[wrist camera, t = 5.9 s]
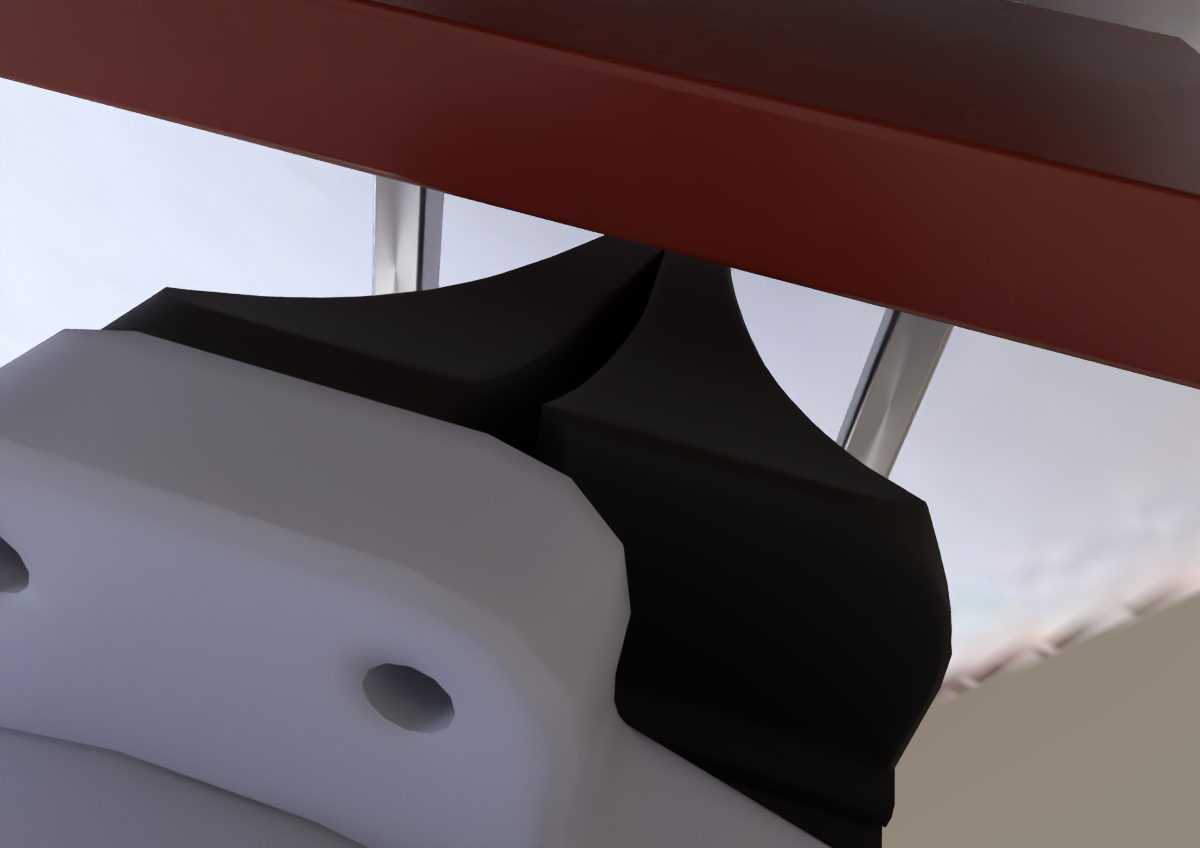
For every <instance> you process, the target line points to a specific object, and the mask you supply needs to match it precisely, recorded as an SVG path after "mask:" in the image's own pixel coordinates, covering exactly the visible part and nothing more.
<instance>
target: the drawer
mask: <svg viewBox="0 0 1200 848" xmlns="http://www.w3.org/2000/svg"><path fill="white" fill-rule="evenodd" d="M0 77H1V78H5V79H9V80H13V81H17V82H20V83H24V84H28V85H32V86H36V87H40V88H43V89H47V90H51V91H55V92H59V93H63V94H67V95H70V96H74V97H78V98H82V99H86V100H90V101H93V102H97V103H101V104H105V105H109V106H113V107H116V108H120V109H124V110H128V111H132V112H136V113H140V114H143V115H147V116H151V117H155V118H159V119H163V120H166V121H170V122H174V123H178V124H182V125H186V126H189V127H193V128H197V129H201V130H205V131H209V132H212V133H216V134H220V135H224V136H228V137H232V138H236V139H239V140H243V141H247V142H251V143H255V144H259V145H262V146H266V147H270V148H274V149H278V150H282V151H285V152H289V153H293V154H297V155H301V156H305V157H309V158H312V159H316V160H320V161H324V162H328V163H332V164H335V165H339V166H343V167H347V168H351V169H355V170H358V171H362V172H366V173H370V174H374V223H373V295H382V294H392V293H402V292H412V291H421V290H429V289H435V288H438V287H439V270H440V253H441V237H442V220H443V203H444V193H447V194H451V195H455V196H458V197H462V198H466V199H470V200H474V201H478V202H481V203H485V204H489V205H493V206H497V207H501V208H504V209H508V210H512V211H516V212H520V213H524V214H527V215H531V216H535V217H539V218H543V219H547V220H551V221H554V222H558V223H562V224H566V225H570V226H574V227H577V228H581V229H585V230H589V231H593V232H597V233H600V234H604V235H608V236H612V237H616V238H620V239H624V240H627V241H631V242H635V243H639V244H643V245H647V246H650V247H654V248H658V249H662V250H666V251H670V252H673V253H677V254H681V255H685V256H689V257H693V258H697V259H700V260H704V261H708V262H712V263H716V264H720V265H723V266H727V267H731V268H735V269H739V270H743V271H746V272H750V273H754V274H758V275H762V276H766V277H769V278H773V279H777V280H781V281H785V282H789V283H793V284H796V285H800V286H804V287H808V288H812V289H816V290H819V291H823V292H827V293H831V294H835V295H839V296H842V297H846V298H850V299H854V300H858V301H862V302H866V303H869V304H873V305H877V306H881V307H885V308H886V311H885V313H884V316H883V319H882V321H881V324H880V327H879V329H878V332H877V334H876V337H875V340H874V342H873V345H872V347H871V350H870V353H869V355H868V358H867V361H866V363H865V366H864V368H863V371H862V374H861V376H860V379H859V382H858V384H857V387H856V389H855V392H854V395H853V397H852V400H851V403H850V405H849V408H848V410H847V413H846V416H845V418H844V421H843V424H842V426H841V429H840V431H839V434H838V437H837V439H836V443H837V444H838V445H840V446H841V447H842V448H843V449H845V450H846V451H847V452H848V453H850V454H851V455H852V456H854V457H855V458H856V459H857V460H859V461H860V462H862V463H863V464H864V465H866V466H867V467H869V468H870V469H872V470H874V471H875V472H877V473H879V474H880V475H882V476H884V477H885V478H887V479H888V477H889V475H890V472H891V470H892V468H893V466H894V463H895V461H896V459H897V456H898V454H899V452H900V449H901V447H902V445H903V443H904V440H905V438H906V436H907V433H908V431H909V429H910V426H911V424H912V422H913V420H914V417H915V415H916V413H917V410H918V408H919V406H920V404H921V401H922V399H923V397H924V394H925V392H926V390H927V387H928V385H929V383H930V381H931V378H932V376H933V374H934V371H935V369H936V367H937V364H938V362H939V360H940V358H941V355H942V353H943V351H944V348H945V346H946V344H947V341H948V339H949V337H950V335H951V332H952V330H953V328H954V326H958V327H962V328H965V329H969V330H973V331H977V332H981V333H985V334H988V335H992V336H996V337H1000V338H1004V339H1008V340H1011V341H1015V342H1019V343H1023V344H1027V345H1031V346H1035V347H1038V348H1042V349H1046V350H1050V351H1054V352H1058V353H1061V354H1065V355H1069V356H1073V357H1077V358H1081V359H1084V360H1088V361H1092V362H1096V363H1100V364H1104V365H1108V366H1111V367H1115V368H1119V369H1123V370H1127V371H1131V372H1134V373H1138V374H1142V375H1146V376H1150V377H1154V378H1157V379H1161V380H1165V381H1169V382H1173V383H1177V384H1181V385H1184V386H1188V387H1192V388H1196V389H1200V53H1198V52H1197V51H1196V50H1195V49H1193V48H1192V47H1191V46H1190V45H1188V44H1187V43H1186V42H1184V41H1183V40H1182V39H1181V38H1179V37H1174V36H1169V35H1165V34H1160V33H1155V32H1151V31H1146V30H1141V29H1137V28H1132V27H1127V26H1123V25H1118V24H1113V23H1109V22H1104V21H1099V20H1095V19H1090V18H1085V17H1081V16H1076V15H1071V14H1067V13H1062V12H1058V11H1053V10H1048V9H1044V8H1039V7H1034V6H1030V5H1025V4H1020V3H1016V2H1011V1H1006V0H0Z"/></svg>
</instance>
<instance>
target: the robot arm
mask: <svg viewBox="0 0 1200 848" xmlns="http://www.w3.org/2000/svg"><path fill="white" fill-rule="evenodd" d="M951 635H952V625H951V607H950V600H949V592H948V585H947V580H946V575H945V571H944V567H943V563H942V559H941V555H940V550H939V546H938V543H937V539H936V535H935V531H934V528H933V524H932V520H931V516H930V513H929V509H928V506H927V504H926V502H925V501H923V500H921V499H920V498H918V497H917V496H915V495H913V494H912V493H910V492H908V491H907V490H905V489H903V488H902V487H900V486H898V485H897V484H895V483H893V482H892V481H890V480H889V479H887V478H885V477H884V476H882V475H880V474H879V473H877V472H875V471H874V470H872V469H870V468H869V467H867V466H866V465H864V464H863V463H862V462H860V461H859V460H857V459H856V458H855V457H854V456H852V455H851V454H850V453H848V452H847V451H846V450H845V449H843V448H842V447H841V446H840V445H838V444H837V443H836V442H834V441H833V440H832V439H831V438H830V437H828V436H827V435H826V434H825V433H824V432H823V431H822V430H821V429H819V428H818V427H817V426H816V425H815V424H814V423H813V422H812V421H811V420H810V419H809V418H808V417H807V416H806V415H805V414H804V413H803V412H802V411H801V410H800V409H799V408H798V406H797V405H796V404H795V403H794V402H793V401H792V400H791V399H790V398H789V397H788V396H787V394H786V393H785V392H784V391H783V390H782V388H781V387H780V386H779V385H778V383H777V382H776V380H775V379H774V377H773V376H772V375H771V373H770V372H769V370H768V369H767V367H766V366H765V364H764V363H763V361H762V359H761V357H760V355H759V353H758V351H757V349H756V347H755V345H754V343H753V341H752V339H751V337H750V335H749V332H748V330H747V328H746V325H745V323H744V320H743V317H742V314H741V311H740V308H739V305H738V302H737V299H736V296H735V292H734V287H733V283H732V277H731V267H727V266H723V265H720V264H716V263H712V262H708V261H704V260H700V259H697V258H693V257H689V256H685V255H681V254H677V253H673V252H670V251H666V250H662V249H658V248H654V247H650V246H647V245H643V244H639V243H635V242H631V241H627V240H624V239H620V238H616V237H612V236H608V235H604V236H601V237H599V238H596V239H594V240H592V241H589V242H587V243H585V244H582V245H580V246H577V247H575V248H572V249H570V250H567V251H565V252H562V253H560V254H558V255H555V256H552V257H550V258H547V259H544V260H541V261H538V262H535V263H532V264H529V265H526V266H523V267H520V268H517V269H514V270H511V271H508V272H505V273H502V274H499V275H495V276H491V277H488V278H484V279H479V280H475V281H471V282H466V283H461V284H456V285H451V286H446V287H441V288H435V289H429V290H421V291H412V292H402V293H392V294H382V295H372V296H360V297H329V298H308V297H269V296H253V295H242V294H230V293H219V292H208V291H196V290H186V289H178V288H170V287H166V288H164V289H162V290H161V291H159V292H158V293H156V294H155V295H153V296H152V297H150V298H149V299H147V300H146V301H144V302H143V303H141V304H140V305H138V306H137V307H135V308H133V309H132V310H130V311H129V312H127V313H126V314H124V315H123V316H121V317H120V318H118V319H116V320H115V321H113V322H112V323H110V324H109V325H107V326H106V327H104V328H103V329H101V330H86V329H63V330H62V331H60V332H58V333H57V334H55V335H53V336H52V337H50V338H49V339H47V340H45V341H44V342H42V343H40V344H39V345H37V346H36V347H34V348H32V349H31V350H29V351H27V352H26V353H24V354H23V355H21V356H19V357H18V358H16V359H14V360H13V361H11V362H10V363H8V364H6V365H5V366H3V367H1V368H0V848H882V826H883V827H886V826H887V824H888V823H889V821H890V819H891V817H892V813H893V809H894V803H895V801H894V799H895V797H894V796H895V766H896V765H897V763H898V761H899V759H900V758H901V756H902V754H903V752H904V751H905V749H906V747H907V745H908V744H909V742H910V740H911V738H912V737H913V735H914V733H915V731H916V730H917V728H918V726H919V724H920V723H921V721H922V719H923V717H924V716H925V714H926V712H927V710H928V709H929V707H930V705H931V703H932V702H933V700H934V698H935V696H936V695H937V693H938V691H939V689H940V688H941V685H942V682H943V679H944V676H945V673H946V670H947V667H948V664H949V661H950V658H951V656H952V647H951Z"/></svg>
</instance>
